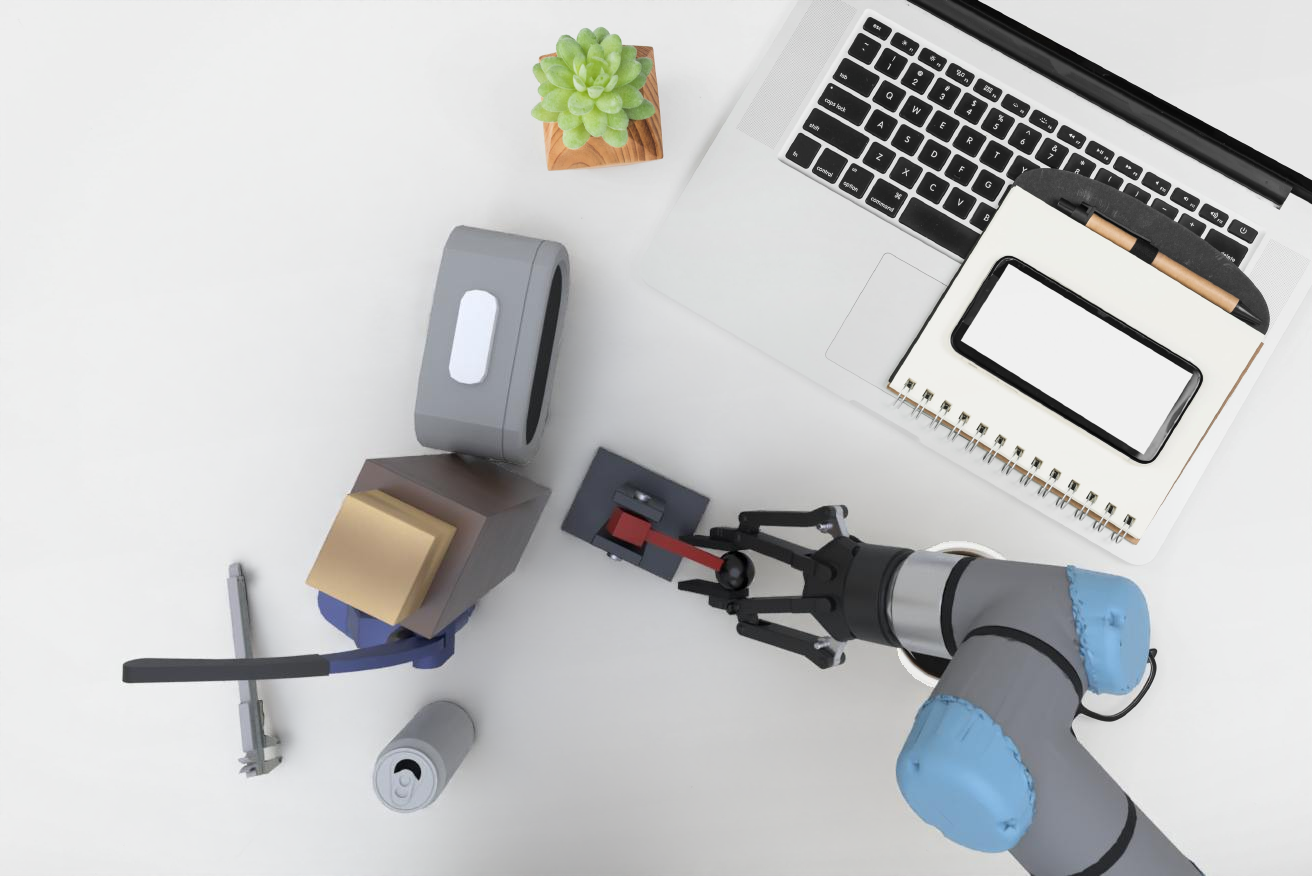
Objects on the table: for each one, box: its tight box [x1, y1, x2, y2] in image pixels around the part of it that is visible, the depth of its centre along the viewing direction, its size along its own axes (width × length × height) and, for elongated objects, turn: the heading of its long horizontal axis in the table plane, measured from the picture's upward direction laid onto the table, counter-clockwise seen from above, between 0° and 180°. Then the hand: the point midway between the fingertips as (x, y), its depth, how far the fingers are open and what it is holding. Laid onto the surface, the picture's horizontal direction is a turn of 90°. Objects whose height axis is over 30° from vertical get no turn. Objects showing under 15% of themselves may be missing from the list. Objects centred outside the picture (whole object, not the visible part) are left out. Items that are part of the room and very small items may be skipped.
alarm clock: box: [413, 224, 571, 466], centre depth 76 cm, size 21×10×13 cm, turn 170°
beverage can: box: [372, 701, 475, 814], centre depth 77 cm, size 6×6×12 cm
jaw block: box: [305, 489, 457, 626], centre depth 52 cm, size 6×6×5 cm
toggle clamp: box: [560, 446, 711, 583], centre depth 75 cm, size 12×9×14 cm
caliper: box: [226, 562, 283, 779], centre depth 80 cm, size 20×1×6 cm, turn 13°
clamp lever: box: [606, 506, 756, 591], centre depth 72 cm, size 14×4×4 cm, turn 65°
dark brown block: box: [349, 452, 553, 639], centre depth 69 cm, size 9×9×28 cm
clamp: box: [121, 590, 476, 684], centre depth 69 cm, size 19×9×28 cm, turn 88°
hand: (688, 561), depth 79 cm, fingers closed on clamp lever, 4 cm apart
